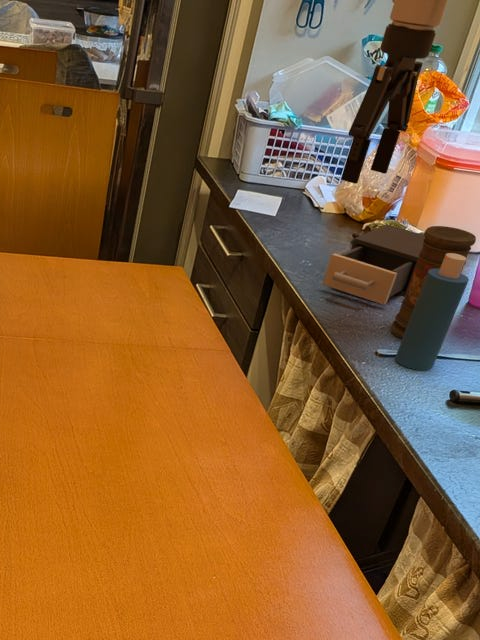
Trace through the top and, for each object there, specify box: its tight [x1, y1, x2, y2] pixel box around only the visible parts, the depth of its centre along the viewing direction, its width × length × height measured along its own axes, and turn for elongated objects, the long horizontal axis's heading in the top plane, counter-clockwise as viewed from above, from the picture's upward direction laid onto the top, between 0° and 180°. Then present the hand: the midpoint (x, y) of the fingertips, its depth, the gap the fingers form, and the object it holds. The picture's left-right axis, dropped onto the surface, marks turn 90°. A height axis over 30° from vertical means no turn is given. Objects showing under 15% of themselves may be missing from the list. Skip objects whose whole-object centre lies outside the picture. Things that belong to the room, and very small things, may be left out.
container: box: [390, 225, 477, 340], centre depth 165 cm, size 9×9×18 cm
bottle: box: [394, 253, 470, 371], centre depth 155 cm, size 6×6×18 cm
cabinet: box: [350, 224, 425, 298], centre depth 192 cm, size 17×14×8 cm
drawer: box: [322, 245, 416, 306], centre depth 184 cm, size 20×13×6 cm, turn 139°
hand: (364, 176), depth 158 cm, fingers open, 11 cm apart
